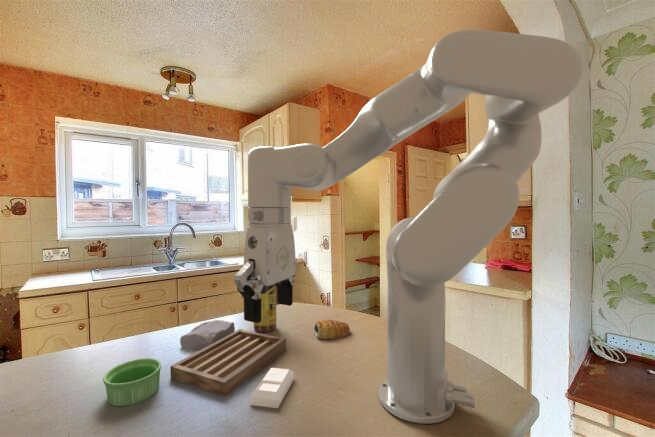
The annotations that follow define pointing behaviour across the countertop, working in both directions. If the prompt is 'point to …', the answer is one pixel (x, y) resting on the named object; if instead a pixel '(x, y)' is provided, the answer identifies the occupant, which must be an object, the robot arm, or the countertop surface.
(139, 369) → the ramekin
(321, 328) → the pastry
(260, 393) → the soap bar
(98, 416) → the countertop surface
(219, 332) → the stone block
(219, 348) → the drying rack
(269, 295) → the sauce bottle
